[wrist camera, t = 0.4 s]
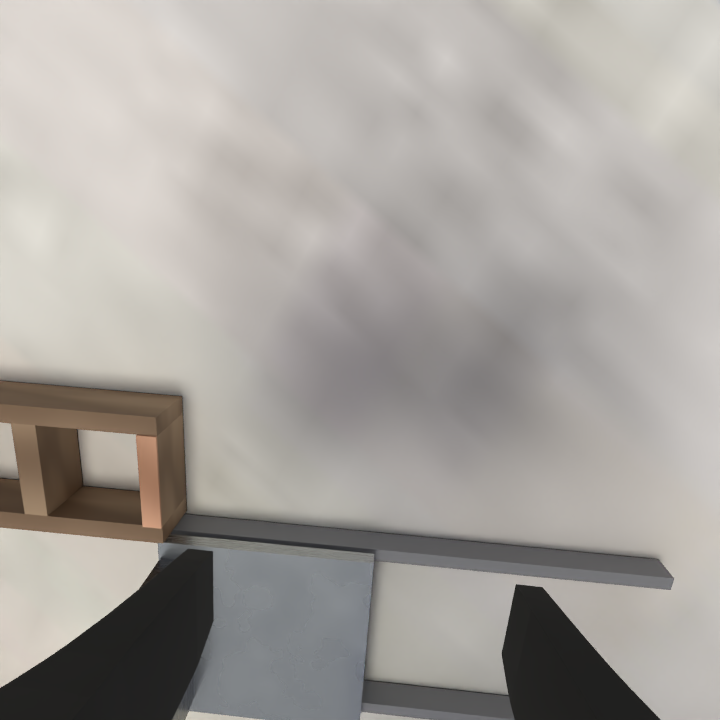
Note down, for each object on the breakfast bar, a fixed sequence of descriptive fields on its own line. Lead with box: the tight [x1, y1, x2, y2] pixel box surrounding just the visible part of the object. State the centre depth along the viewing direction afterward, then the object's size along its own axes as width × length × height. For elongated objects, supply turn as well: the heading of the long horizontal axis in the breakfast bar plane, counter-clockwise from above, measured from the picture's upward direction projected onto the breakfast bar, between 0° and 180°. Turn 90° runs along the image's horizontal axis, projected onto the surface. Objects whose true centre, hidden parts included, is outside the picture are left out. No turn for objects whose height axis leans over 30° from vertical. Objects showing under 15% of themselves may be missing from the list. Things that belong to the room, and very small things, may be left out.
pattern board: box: [170, 514, 674, 720], centre depth 23 cm, size 10×22×1 cm, turn 86°
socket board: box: [0, 381, 187, 543], centre depth 20 cm, size 6×11×2 cm, turn 86°
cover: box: [140, 534, 374, 720], centre depth 21 cm, size 10×9×3 cm
